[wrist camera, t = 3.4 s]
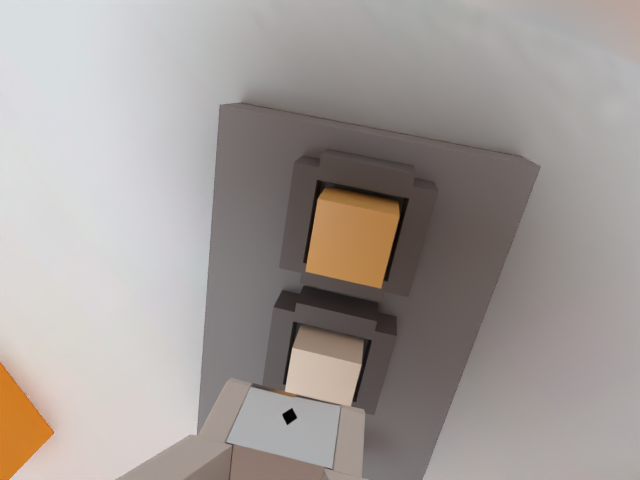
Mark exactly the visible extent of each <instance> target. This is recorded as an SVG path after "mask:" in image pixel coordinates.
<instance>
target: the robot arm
mask: <svg viewBox="0 0 640 480" xmlns="http://www.w3.org/2000/svg"><path fill="white" fill-rule="evenodd" d="M364 427H365V411H364V409H360V408H356V407H351V406H347V405H342V404H341V405H340V404H337V403H332V402H328V401H324V400H319V399H315V398H311V397H306V396H302V395H298V394H293V393H289V392H285V391H281V390H278V389H274V388H270V387H266V386H263V385H259V384H255V383H253V384H252V383H249V382H245V381H242V380H238V379H234V378H230V379H229V380H228V381H227V382H226V384H225V386H224V387H223V389H222V391H221V393H220V395H219V397H218V399H217V400H216V402H215V404H214V406H213V408H212V410H211V412H210V414H209V415H208V417H207V419H206V421H205V423H204V425H203V427H202V429H201V430H200V432H199V434H198V436H194V435H189V436H187V437H186V438H184V439H182V440H181V441H179V442H177V443H176V444H174V445H172V446H171V447H169V448H167V449H166V450H164V451H162V452H161V453H159V454H157V455H156V456H154V457H152V458H151V459H149V460H147V461H146V462H144V463H142V464H141V465H139V466H137V467H136V468H134V469H132V470H131V471H129V472H127V473H126V474H124V475H123V476H121V477H119V478H118V479H116V480H369V479H365V478H362V464H363V445H364Z"/></svg>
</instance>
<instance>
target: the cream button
mask: <svg viewBox="0 0 640 480" xmlns="http://www.w3.org/2000/svg"><path fill="white" fill-rule="evenodd" d="M363 345H364V338H361V337H357V336H352V335H348V334H344V333H340V332H335V331H331V330H327V329H323V328H318V327H314V326H310V325H306V324H302V323H301V326H300V328H299V331H298V334H297V336H296V339H295V342H294V344H293V347H292V352H291V358H290V364H289V370H288V375H287V381H286V387H285V392H289V393H293V394H298V395H302V396H306V397H311V398H315V399H319V400H324V401H328V402H332V403H337V404H340V405H341V404H342V405H347V406H351V404H352V400H353V396H354V392H355V388H356V384H357V380H358V376H359V373H360V369H361V365H362V355H363Z"/></svg>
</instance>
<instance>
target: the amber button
mask: <svg viewBox="0 0 640 480" xmlns="http://www.w3.org/2000/svg"><path fill="white" fill-rule="evenodd" d="M399 216H400V214H399V202H398V201H395V200H390V199H386V198H381V197H376V196H371V195H366V194H361V193H356V192H351V191H347V190H342V189H337V188H332V187H327V186H326V187H325V188H324V190H323V191H322V193H321V195H320V196H319V198H318V201H317V207H316V213H315V218H314V224H313V230H312V236H311V242H310V247H309V253H308V259H307V265H306V271H305V272H309V273H314V274H318V275H322V276H327V277H331V278H336V279H340V280H345V281H349V282H354V283H358V284H362V285H367V286H371V287H376V288H380V289H381V287H382V283H383V279H384V275H385V271H386V267H387V263H388V259H389V255H390V252H391V248H392V244H393V240H394V236H395V232H396V228H397V224H398V220H399Z"/></svg>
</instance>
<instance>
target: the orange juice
mask: <svg viewBox="0 0 640 480" xmlns="http://www.w3.org/2000/svg"><path fill="white" fill-rule="evenodd" d="M53 434H54V432H53V431H52V429H51V428H50V427H49V425H48V424H47V423H46V421H45V420H44V419H43V418H42V416H41V415H40V414H39V412H38V411H37V410H36V408H35V407H34V406H33V405H32V403H31V402H30V401H29V399H28V398H27V397H26V395H25V394H24V393H23V392H22V390H21V389H20V388H19V386H18V385H17V384H16V383H15V381H14V380H13V379H12V377H11V376H10V375H9V373H8V372H7V371H6V370H5V368H4V367H3V366H2V364H1V363H0V480H9V479H10V478H11V477H12V476H13V475H14V474H15V473H16V472H17V471H18V470H19V469H20V468H21V467H22V466H23V465H24V464H25V463H26V461H27V460H28V459H29V458H30V457H31V456H32V455H33V454H34V453H35V452H36V451H37V450H38V449H39V448H40V447H41V446H42V445H43V444H44V443H45V442H46V441H47V440H48V439H49V438H50V437H51V436H52V435H53Z"/></svg>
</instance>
